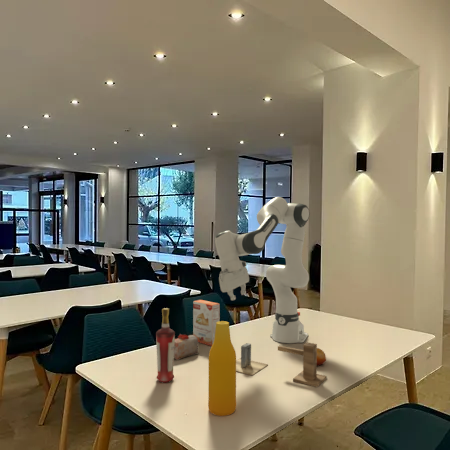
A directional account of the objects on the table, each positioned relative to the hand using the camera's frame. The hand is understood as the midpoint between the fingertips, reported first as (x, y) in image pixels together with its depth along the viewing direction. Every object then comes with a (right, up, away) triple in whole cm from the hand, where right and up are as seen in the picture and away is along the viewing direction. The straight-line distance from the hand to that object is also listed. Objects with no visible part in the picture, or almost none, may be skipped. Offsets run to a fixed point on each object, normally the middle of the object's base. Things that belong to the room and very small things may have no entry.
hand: (238, 297), depth 179 cm
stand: (+24, -29, -18) cm, 42 cm away
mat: (+3, -29, -7) cm, 30 cm away
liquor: (-30, -29, -22) cm, 47 cm away
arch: (+3, -28, -7) cm, 29 cm away
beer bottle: (-7, -29, -46) cm, 55 cm away
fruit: (+34, -29, -3) cm, 45 cm away
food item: (-26, -29, +7) cm, 39 cm away
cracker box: (-16, -28, +27) cm, 42 cm away
